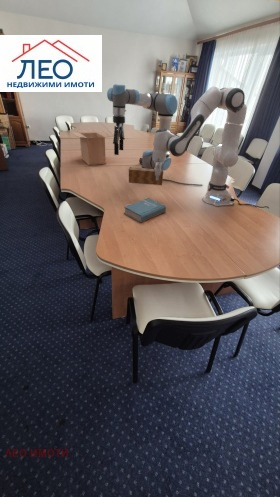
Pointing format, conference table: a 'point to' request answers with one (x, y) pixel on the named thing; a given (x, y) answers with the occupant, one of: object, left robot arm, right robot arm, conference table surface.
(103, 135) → the box
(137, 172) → the bar
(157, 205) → the book
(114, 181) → the conference table surface
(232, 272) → the conference table surface
